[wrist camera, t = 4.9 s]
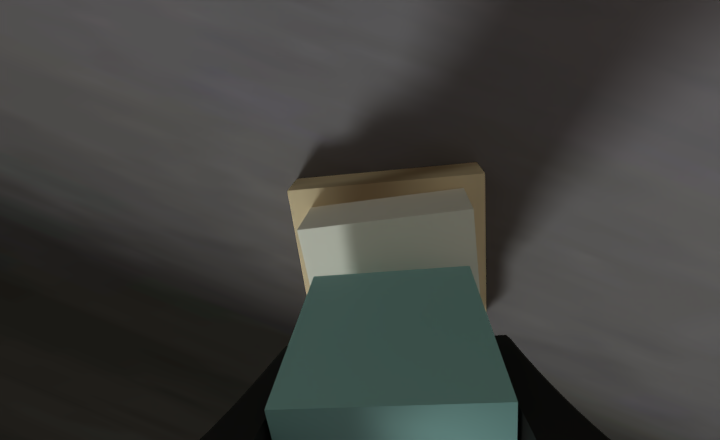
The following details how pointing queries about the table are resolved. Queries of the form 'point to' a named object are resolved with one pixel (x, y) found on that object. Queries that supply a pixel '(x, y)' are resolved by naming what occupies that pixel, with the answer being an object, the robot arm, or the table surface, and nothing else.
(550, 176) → the table surface
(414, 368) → the teal block
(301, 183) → the oak slab
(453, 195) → the cream slab
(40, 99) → the table surface
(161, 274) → the table surface
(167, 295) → the table surface
